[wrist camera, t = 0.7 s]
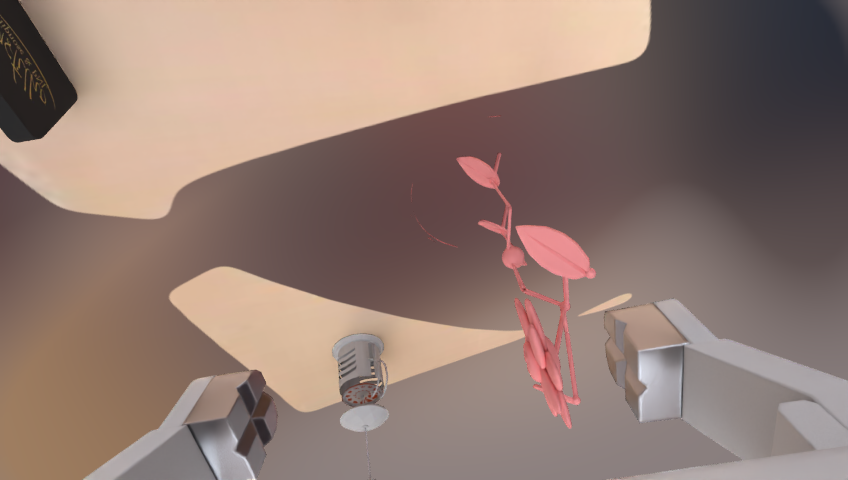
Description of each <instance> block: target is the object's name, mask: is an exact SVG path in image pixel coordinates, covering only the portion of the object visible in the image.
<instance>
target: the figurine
mask: <svg viewBox="0 0 848 480" xmlns="http://www.w3.org/2000/svg"><path fill="white" fill-rule="evenodd" d="M492 117H493V116H492ZM500 158H501V153H498V154H497V158H496V161H495V166H494V169H492V168H491V167H490V166H489V165H488V164H486V163H485V162H483V161H482V160H480V159H477V158H475V157H472V156H465V157H457V161H458V162H459V164H460V165H461V167H462V168H463V169H464V171H465V172H466V173H467V175H468V176H469V177H471V178H472V179H473V180H474V181H475V182H477V183H478V184H480V185H482V186H484V187H488V188H492V189H494V188H495V189H496V191H497V192H498V194H499V195H500V197H501V198H502V200H503V201H504V203H505V204H506V205H505V210H504V215H503V220H502V224H501V226H500V225H497V224H495V223H492V222H490V221H487V220H480V221H479V222H478V224H479V225H481V226H483V227H485V228H487V229H490V230H492V231H494V232H497V233H499V234H502V235H503V236H504V238H505V239H506V240H507V248H506V249H505V250H504V252H503V255H502V260H503V263H504V264H505V266H507V267H509V268H512V269H513V270H514V273H515V276H516V278H517V281H518V284H519V286H520V289H521V291H522V292H525V294H527V295H530V296H533V297H536V298H539V299H541V300H544V301H547V302H550V303H553V304H555V305H558V306H560V311H561V316H560V321H559V326H558V331H557V336H556V341H555V346H554V345H553V343H552V342H551V341H550V340H549V338H547V337H546V336H545V335H544V331H543V329H542V326H541V323H540V320H539V318H538V316H537V313H536V311H535V309H534V307H533V305H532V303H531V302H530V300H529V299H525V308H526V311H525V309H524V307H523V305H522V304H521V302H520V301H519V300H518V299H517V298H515V306H516V310H517V313H518V316H519V319H520V322H521V325H522V328H523V331H524V333H525V336H526V337H525V341H526V342H525V343H524V347H523V348H524V356H525V361H526V363H527V365H528V366H527V369H528V371H529V373H530V374H531V376H532V378H533V379H534V380H535V381H537V382H540V383H541V385H537V384H534V386H533V388H535V389H538V390H540V391H542V392H544V395H545V398H546V401H547V403H548V406H549V408H550V410H551V412H552V413H553V415H554V416H555V417H557V414H561V416H562V418H563V420H564V422H565V424H566V426H567V427H568V428H570V429H571V427H572V423H571V418H570V414H569V410H568V406H567V403H566V402H568V403H571V404H575V405H578V404H579V403H580V401H581V400H580V398H579V397H578V391H577V384H576V378H575V371H574V363H573V356H572V350H571V342H570V336H569V333H568V331H569V330H568V325H567V318H566V311H568V310H569V309H570V303H569V288H568V278H570V279H578V278H582V277H587V278H594V277H595V275H596V271H595V270H594V269H592V268H590V261H589V258H588V256H587V255H586V254H585V253H584V251H583V250H582V249H581V247H580V246H579V245H578V243H577V242H575V241H574V240H573V239H571V238H570V237H569V236H567V235H566V234H564V233H562V232H560V231H557V230H555V229H552V228H549V227H546V226H533V225H521V226H516V229H517V232H518V234H519V237H520V238H521V240H522V242H523V244H524V246H525V248H526V250H527V252H528V253H529V255H531V257H533V259H534V260H536V262H538V263H539V264H540V265H541V266H542V267H543V268H545V269H547V270H548V271H550V272H552V273H554V274H556V275H559V276H562V277H563V292H564V301H563V302H559V301H556V300H554V299H551V298H548V297H546V296H544V295H541V294H538V293H536V292H533V291H531V290H528V289H526V287H525V285H524V283H523V281H522V279H521V277H520V275H519V273H518V271H517V269H516V268H518V267H520V266H521V265H527V263H526V262H525V261H524V253H523V251H522V250H521V249H520V248H518V247H516V246H513V245H512V243H511V242H510V232H511V214H512V208H511V205H510V204H509V202H508V201H507V200H506V198H505V197H504V196H503V194H502V193H501V192H500V190H499V189H498V186H499V183H500V180H499V177H498V175H497V170H498V165H499V162H500ZM508 209H509V217H508V230H506V229H505V224H506V219H507V214H508ZM506 235H507V237H506ZM429 239H430V238H429ZM438 241H439V240H438ZM510 246H511V247H510ZM526 312H527V313H526ZM563 328H564V332H565V339H566V346H567V353H568V359H569V367H570V375H571V382H572V389H573V398H571V397H568V396H566V395H564V394H563V391H562V389H563V381H562V377H561V373H560V368H561V366H560V360H559V357H558V354H559V348H560V342H561V338H562V332H563Z"/></svg>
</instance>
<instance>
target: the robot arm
mask: <svg viewBox="0 0 848 480" xmlns="http://www.w3.org/2000/svg"><path fill="white" fill-rule="evenodd" d="M604 328H605V329H606V331H607V332H608V334H609V336H610V337H609V339H608V340H607V342H606V343H605V348H606V357H607V361H608V366H609V369H610V371H611V374H612V376H613V378H614V380H615V382H616V384H617V385H618V386H620V387H622V388H624V389H625V393H626V401H627V403H628V404H629V406H630V408H631V410H632V411H633V413H634V415H635V416H636V418H637V420H638V421H639V423H644V422H652V421H661V420H669V419H677V418H682V420H683V421H685V422H686V423H688V424H689V425H691V426H692V427H694V428H695V429H697V430H698V431H700V432H701V433H703V434H704V435H706V436H708V437H709V438H711V439H712V440H714V441H715V442H717V443H718V444H720V445H721V446H723V447H724V448H726V449H728V450H729V451H730V452H732V453H733V454H735V455H737V456H738V457H740V458H741V459H743V461H736V462H729V463H721V464H715V465H707V466H700V467H694V468H686V469H679V470H672V471H665V472H658V473H651V474H644V475H637V476H630V477H623V478H615V479H608V480H848V381H847V380H844V379H841V378H838V377H835V376H832V375H829V374H827V373H824V372H821V371H818V370H815V369H812V368H810V367H807V366H804V365H801V364H798V363H795V362H792V361H789V360H787V359H784V358H781V357H778V356H775V355H772V354H769V353H767V352H763V351H761V350H758V349H755V348H752V347H749V346H746V345H744V344H741V343H737V342H735V341H732V340H729V339H721V340H719V339H718V338H717V337H716V336H715V335H714V334H713V333H712V332H711V331H710V330H709V329H708V328H707V327H705V326H704V325H703V324H702V323H701V322H700V321H699V320H698V319H697V318H696V317H695V316H694V315H693V314H692V313H691V312H690V311H689V310H688V309H687V308H686V307H685V306H684V305H682V303H681V302H680V301H678V300H677V299H674V298H672V299H667V300H662V301H658V302H653V303H650V304H645V305H639V306H634V307H628V308H622V309H617V310H611V311H606V312H605V314H604ZM265 385H266V381H265V379H264V377H263V375H262V373H261V372H260V371H258V370H250V371H243V372H237V373H229V374H223V375H217V376H210V377H204V378H199V379H196V380H194V381H192V382H191V384H190V385H189V386H188V388H187V390H186V391H185V392H184V393H183V395H182V396H181V398H180V399H179V401H178V402H177V403H176V405H175V406H174V408H173V409H172V410H171V412H170V413H169V415H168V416H167V417H166V419H165V420H164V422H163V423H162V424H161V426H160V427H159V429H158V430H152V431H150V432H149V433H147V434H146V435H145V436H143V437H142V438H140V439H139V440H137V441H136V442H135V443H133V444H132V445H130V446H129V447H128V448H126V449H125V450H123V451H122V452H121V453H119V454H118V455H116V456H115V457H113V458H112V459H111V460H109V461H108V462H106V463H105V464H104V465H102V466H101V467H99V468H98V469H96V470H95V471H94V472H93V473H91V474H89V475H88V476H87V477H85V478H84V479H82V480H257V478H258V475H259V473H260V470H261V468H262V465H263V463H264V460H265V457H266V452H265V450H264V446H265V445H267V443H269V441H271V440H272V438H273V437H274V434H275V431H276V428H277V416H278V415H277V410H276V405H275V403H274V400H273V398H272V397H271V396H269V395H268V394H266V393H265V392H264V391H263V390H264V387H265Z"/></svg>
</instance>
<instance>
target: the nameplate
mask: <svg viewBox="0 0 848 480" xmlns="http://www.w3.org/2000/svg"><path fill="white" fill-rule="evenodd" d="M76 101H77V94H76V91H75V89H74V87H73V86H72V84H71V83H70V81H69V79H68V78H67V76H66V75H65V73H64V72H63V70H62V69H61V67H60V65H59V64H58V62H57V61H56V59H55V58H54V56H53V54H52V53H51V51H50V50H49V48H48V47H47V45H46V44H45V42H44V40H43V39H42V37H41V36H40V34H39V33H38V31H37V29H36V28H35V26H34V25H33V23H32V22H31V20H30V19H29V17H28V15H27V14H26V12H25V11H24V9H23V8H22V6H21V4H20V3H19V1H18V0H0V128H1V129H2V131H3V132H4V133H5V134H6V136H7V137H8V138H9V139H10V140H12V141H14V142H24V141H30V140H36V139H41V138H43V137H44V136H45V135H46V134H47V132H48V131H49V130H50V129H51V128H52V127H53V126H54V125H55V124H56V123H57V122H58V121H59V119H60V118H61V117H62V116H63V115H64V114H65V113H66V112H67V111H68V110H69V109H70V108H71V107H72V105H73V104H74V103H75V102H76Z"/></svg>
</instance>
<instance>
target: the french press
mask: <svg viewBox="0 0 848 480" xmlns="http://www.w3.org/2000/svg"><path fill="white" fill-rule="evenodd" d="M383 350H384V344H383V342H382V341H381V340H380V338H378V337H376V336H373V335H369V334H355V335H350V336H348V337H345V338H342V339H341V340H340V341H338V342H337V343H336V344H335V346H334V347H333V349H332V353H333V357H334V358H335V359H336V360H337V361H338V366H339V367H338V370H341V372H340V371H339V388H340V394H341V395H342V401H343V402H344V403H345V404H346V405H349V406H352V408H350V409H349V410H347V411H346V412H345V413H344V414H343V415H342V417H341V419H340V422H341V425H342V426H343V427H344V428H346V429H350V430H353V431H357V432H362V431H365V433H366V445H367V456H368V467H369V480H376V479H371V474H370V464H369V453H368V443H367V431H370V430H372V429H375V428H377V427H379V426H380V425H382V424H383V423H384V422H385V421H386V420H387V418H388V416H389V412H388V411H387V410H386V408H385V407H384V406H381V405H379V404H375V403H376V402H377V401H379V400H380V399H382V398H383V396H384V394H385V392H386V388H387V381H388V372H387V367H386V364H385V363H384V362H383V361H382V360H380V355H381V354H382V352H383ZM381 362H383V364H384V366H385V369H386V375H387V378H386V386H385V390H384V393H383V387H384V383H383V375H382V368H381ZM339 363H340V364H341V366H340V365H339ZM371 366H374V369H371ZM371 372H375V375H371ZM340 375H341V376H342V378H340ZM360 376H363V377H360ZM359 377H360V378H359ZM369 378H378V380H377V381H367V382H363V383H360V381H361V380H364V379H369ZM379 379H380V380H379ZM380 382H382V385H381V386H380V387H379V386H378V384H379V383H380ZM375 384H377V385H375Z"/></svg>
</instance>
